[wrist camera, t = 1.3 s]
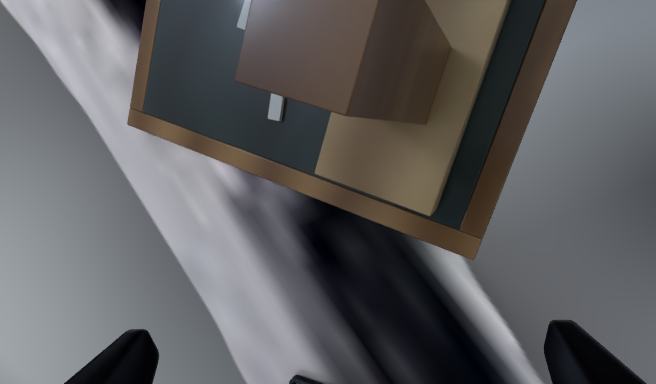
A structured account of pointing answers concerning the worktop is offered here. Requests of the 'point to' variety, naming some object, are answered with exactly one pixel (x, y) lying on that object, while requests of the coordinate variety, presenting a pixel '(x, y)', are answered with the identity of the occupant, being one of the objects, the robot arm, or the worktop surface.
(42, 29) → the worktop surface
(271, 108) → the chalk stick
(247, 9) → the light grey rectangular bar
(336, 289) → the worktop surface
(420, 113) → the eraser
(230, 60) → the chalkboard
